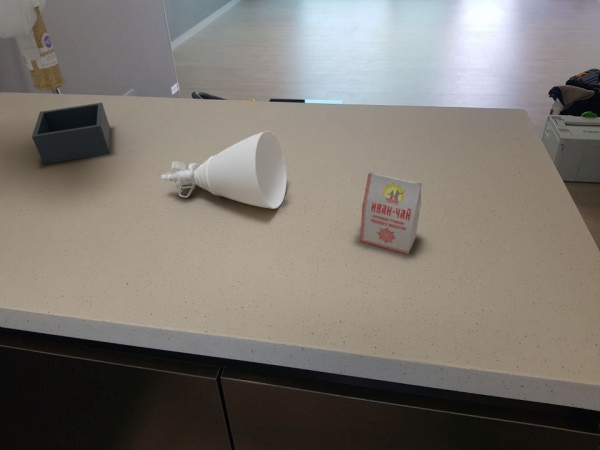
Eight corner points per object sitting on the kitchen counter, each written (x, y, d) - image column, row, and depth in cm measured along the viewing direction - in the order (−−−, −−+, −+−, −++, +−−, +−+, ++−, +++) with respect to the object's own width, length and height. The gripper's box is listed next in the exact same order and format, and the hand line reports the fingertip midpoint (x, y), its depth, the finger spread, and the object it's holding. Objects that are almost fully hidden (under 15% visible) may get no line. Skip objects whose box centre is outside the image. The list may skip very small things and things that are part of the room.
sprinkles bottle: (62, 90, 70) (29, -6, 62) (31, 93, 70) (-7, -4, 61) (68, 80, 74) (37, -12, 66) (38, 82, 73) (3, -10, 65)
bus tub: (43, 164, 83) (31, 137, 80) (50, 137, 92) (39, 111, 89) (109, 153, 86) (100, 125, 82) (110, 128, 95) (102, 102, 91)
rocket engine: (147, 136, 69) (254, 121, 63) (191, 152, 80) (286, 141, 74) (147, 211, 68) (255, 204, 62) (191, 218, 79) (287, 212, 73)
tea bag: (369, 226, 66) (373, 165, 59) (415, 238, 63) (425, 176, 57) (360, 241, 63) (363, 179, 57) (408, 254, 60) (417, 191, 54)
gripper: (-10, -61, 67) (26, 37, 76) (-50, -42, 52) (1, 78, 60) (36, -63, 69) (66, 33, 77) (11, -46, 53) (52, 72, 62)
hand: (38, 53), depth 69 cm, fingers closed on sprinkles bottle, 4 cm apart
